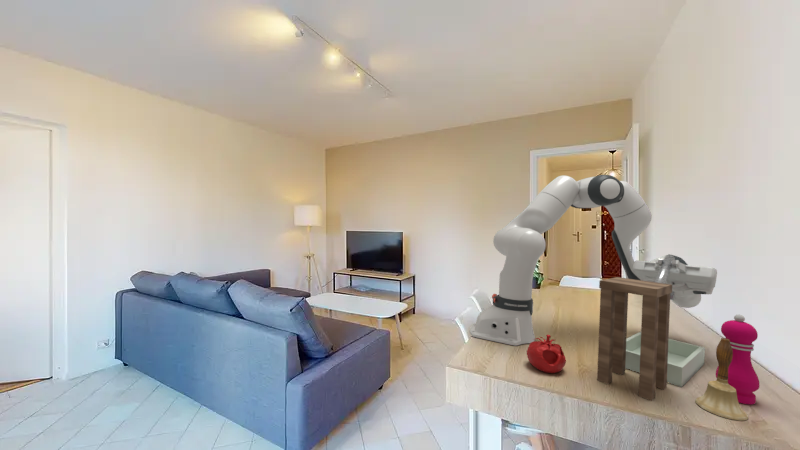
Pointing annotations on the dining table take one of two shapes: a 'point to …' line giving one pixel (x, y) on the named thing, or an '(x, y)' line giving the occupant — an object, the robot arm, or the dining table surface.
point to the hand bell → (722, 388)
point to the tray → (669, 359)
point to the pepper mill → (741, 359)
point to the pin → (665, 272)
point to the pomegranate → (546, 355)
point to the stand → (651, 331)
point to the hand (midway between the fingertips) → (666, 261)
